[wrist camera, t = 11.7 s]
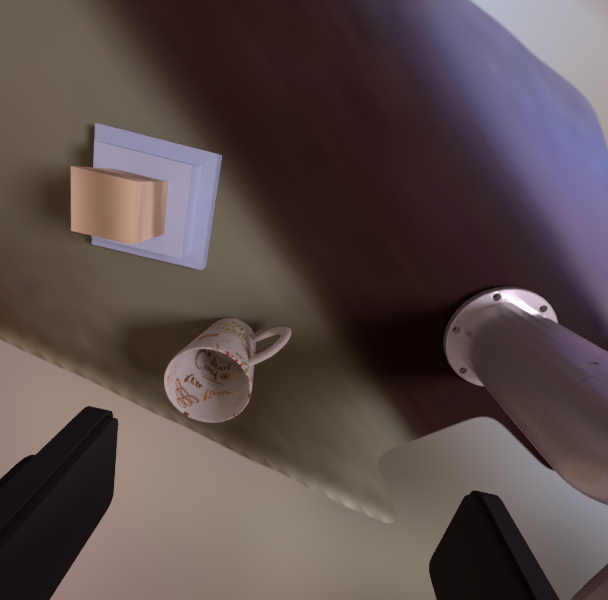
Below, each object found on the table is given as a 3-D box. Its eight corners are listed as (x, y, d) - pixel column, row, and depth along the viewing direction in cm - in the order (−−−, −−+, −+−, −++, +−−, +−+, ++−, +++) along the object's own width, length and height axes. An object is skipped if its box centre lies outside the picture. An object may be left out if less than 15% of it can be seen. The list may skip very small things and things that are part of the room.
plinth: (222, 155, 34) (210, 152, 30) (205, 267, 38) (193, 276, 34) (104, 125, 34) (77, 118, 30) (100, 241, 38) (76, 248, 34)
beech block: (168, 181, 31) (136, 181, 26) (164, 234, 33) (132, 244, 27) (115, 169, 31) (70, 166, 26) (113, 222, 33) (71, 230, 27)
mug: (184, 325, 41) (145, 369, 31) (275, 281, 38) (262, 313, 29) (220, 379, 43) (194, 434, 34) (308, 340, 41) (306, 387, 31)
